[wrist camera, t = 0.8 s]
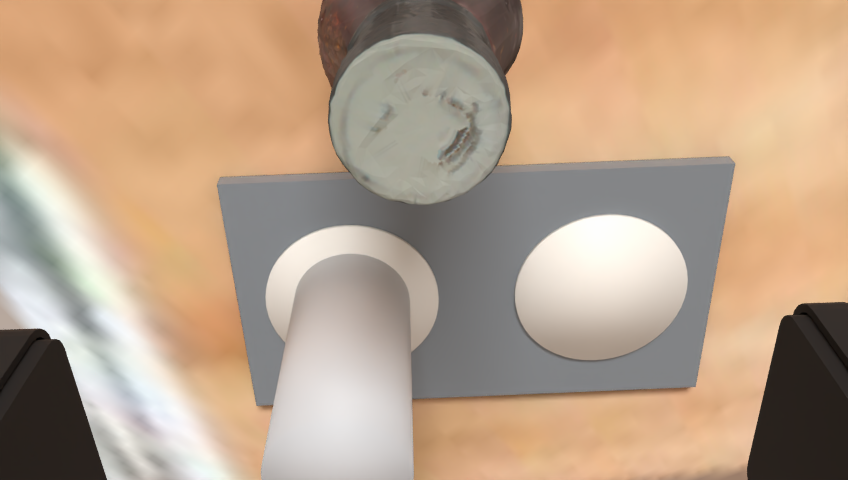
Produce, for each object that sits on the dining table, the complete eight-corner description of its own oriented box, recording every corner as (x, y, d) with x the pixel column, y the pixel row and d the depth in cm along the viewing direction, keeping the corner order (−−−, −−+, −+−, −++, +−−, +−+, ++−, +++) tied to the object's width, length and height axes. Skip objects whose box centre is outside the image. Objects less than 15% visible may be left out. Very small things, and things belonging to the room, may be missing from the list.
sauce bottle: (514, -10, 36) (622, 200, 19) (389, 56, 37) (382, 309, 20) (447, -156, 33) (501, -67, 16) (314, -79, 34) (228, 82, 17)
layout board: (729, 156, 40) (859, 311, 29) (691, 377, 47) (783, 571, 36) (219, 177, 40) (149, 341, 29) (258, 396, 47) (214, 597, 36)
